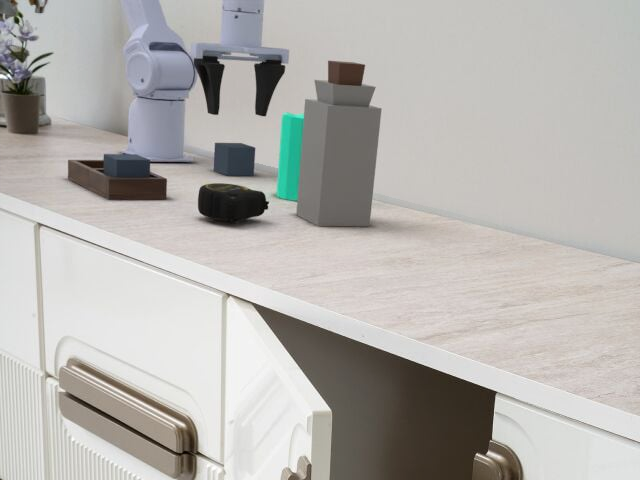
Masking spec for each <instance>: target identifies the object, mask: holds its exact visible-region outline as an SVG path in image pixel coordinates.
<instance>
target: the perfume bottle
mask: <svg viewBox="0 0 640 480" xmlns="http://www.w3.org/2000/svg"><path fill="white" fill-rule="evenodd" d="M365 70H366V64H364V63H358V62H352V61H341V60H327V80H325V79H324V80H323V79H313V81H314V86H315V94H316V98H317V99H315V98H314V99H311V98H310V99H309V98H305V99H304V107H303V108H304V109H303V112H304V113H303V114H304V121H303V134H302V147H301V160H300V173H299V186H298V199H297V201H296V212H295V213H296V214H295V215H296V216H298V217H300V218H302V219H303V220H306V221H307V222H308V223H311V224H313V225H315V226H316V227H370V226H371V225H370V224H371V217H372V216H371V215H372V206H373V196H374V188H375V176H376V167H377V157H378V147H379V138H380V129H381V128H380V127H381V118H382V107H377V106H374V105H370V104H371V102H372V99H373V96H374V93H375V92H376V91H375V90H376V86H374V85H368V84H364V83H363V79H364V74H365Z"/></svg>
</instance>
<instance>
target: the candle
mask: <svg viewBox="0 0 640 480" xmlns="http://www.w3.org/2000/svg"><path fill="white" fill-rule="evenodd" d="M303 121H304V113H302V114H293V113H290V112H285V113H283V114H282V115H281V123H280V124H281V125H280V140H279V153H278V168H277V180H276V181H277V183H276V196H277V198H280V199H282V200H287V201H288V200H289V201H296V202H297V199H298V186H299V173H300V160H301V147H302V134H303Z"/></svg>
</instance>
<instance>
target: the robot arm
mask: <svg viewBox="0 0 640 480" xmlns="http://www.w3.org/2000/svg"><path fill="white" fill-rule="evenodd" d="M119 3H120V5H121V8H122V11H123V15H124V17H125V20H126V24H127V26H128V30H129V32H130V34H131V36H130V37H129V39H128V40H127V42H126V43H125V44H124V46H123V47H122V54H123V56H124V60H125V75H126V80H127V83H128V85H129V87H130V88H131V90H132V93H133V94H132V95H133V96H135V99H134V98H133V100H132V102H130V103H131V104H130V105H129V108H128V118H127V119H128V120H127V148H122V149H121V152H122V154H137V155H139V156H142V157H144V158H147V159H149V160H150V163H151V162H152V163H153V162H155V163H156V162H158V163H159V162H161V163H163V162H164V163H167V162H168V163H173V162H174V163H193V162H194V161H195V160H194V158H193V157H190V156H188V155H184V153H185V152H184V151H185V128H186V127H185V125H186V99H189V97H190V94H189V93H190V92H192V91H193V89H194V87H195V86H196V84H197V81H198V77H199V80H200V83H201V85H202V89H203V93H204V97H205V102H206V103H205V104H206V108H207V109H206V110H207V114H210V115H212V116H219V112H220V105H221V104H220V103H221V88H222V81H223V76H224V71H225V68H226V67H225V64H224V63H221V62H220V60H225V61H243V62H256V63H254V64H253V68H254V75H255V76H254V77H255V100H254V101H255V102H254V103H255V104H254V111H255V112H254V113H255V115H256V116H260V117H267V114H268V110H269V106H270V103H271V100H272V98H273V95H274V93H275V91H276V89H277V86H278V84H279V82H280V80H281V79H282V77H283V76H284V75H285V72H286V65H284V64H287V65H288V64H289V61H290V60H289V59H290V49H287V48H283V47H282V48H281V47H268V46H262V42H263V26H264V25H263V24H264V10H265V0H222V3H221V4H222V6H221V23H220V24H221V25H220V43H209V42H190V51H189V50H188V48H187V47H186V45H185V41H184V39H183V38H182V36H180V35H179V34H178V33H177V32H175V31H174V29H172V28H171V27H170V26H169V24H168V23H167V20H166V17H165V14H164V11H163V8H162V4H161V2H160V0H119ZM232 53H234V54H243V55H244V54H246V55H249V56H239V55H238V56H237V55H232ZM258 62H259V63H258Z"/></svg>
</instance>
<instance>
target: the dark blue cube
mask: <svg viewBox="0 0 640 480" xmlns="http://www.w3.org/2000/svg"><path fill="white" fill-rule="evenodd" d="M103 160H104V174H106V175H108V176H110V177H112V178H150V172H151V162H150V160H149V159H147V158H144V157H142V156H139V155H137V154H126V153H120V154H119V153H104V154H103Z"/></svg>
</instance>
